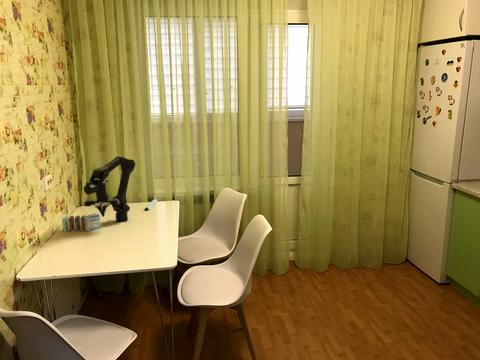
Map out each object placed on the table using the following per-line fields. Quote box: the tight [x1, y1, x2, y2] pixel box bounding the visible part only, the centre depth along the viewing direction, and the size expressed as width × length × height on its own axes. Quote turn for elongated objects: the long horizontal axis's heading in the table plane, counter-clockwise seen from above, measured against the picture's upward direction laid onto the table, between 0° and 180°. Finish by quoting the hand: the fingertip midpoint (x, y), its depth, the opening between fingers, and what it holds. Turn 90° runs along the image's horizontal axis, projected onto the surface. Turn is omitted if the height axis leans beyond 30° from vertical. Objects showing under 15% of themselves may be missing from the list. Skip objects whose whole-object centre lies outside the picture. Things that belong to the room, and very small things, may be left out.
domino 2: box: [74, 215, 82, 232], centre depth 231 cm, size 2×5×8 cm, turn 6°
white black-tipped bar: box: [143, 198, 158, 211], centre depth 278 cm, size 23×7×3 cm, turn 177°
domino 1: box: [80, 215, 87, 232], centre depth 231 cm, size 2×5×8 cm, turn 6°
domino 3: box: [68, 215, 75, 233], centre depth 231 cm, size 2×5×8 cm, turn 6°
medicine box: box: [84, 213, 102, 232], centre depth 232 cm, size 8×4×9 cm, turn 143°
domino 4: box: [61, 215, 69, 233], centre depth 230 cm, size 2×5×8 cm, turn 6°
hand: (103, 216), depth 232 cm, fingers closed
